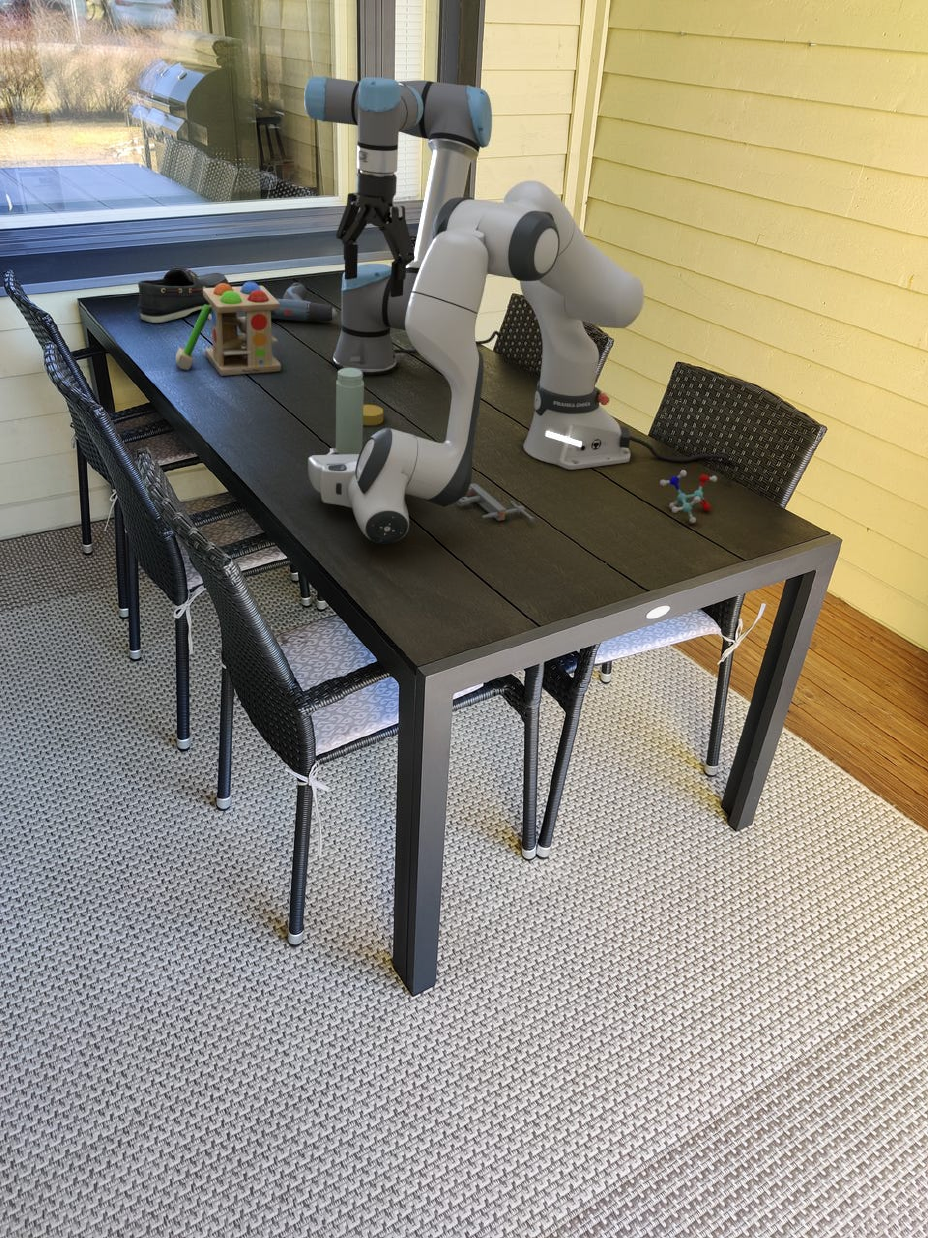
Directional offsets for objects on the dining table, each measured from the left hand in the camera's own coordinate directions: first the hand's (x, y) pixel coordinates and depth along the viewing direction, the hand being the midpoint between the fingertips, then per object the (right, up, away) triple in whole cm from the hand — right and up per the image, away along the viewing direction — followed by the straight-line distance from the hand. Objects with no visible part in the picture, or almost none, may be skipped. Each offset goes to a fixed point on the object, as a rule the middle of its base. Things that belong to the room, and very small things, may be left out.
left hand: (373, 287), depth 196 cm
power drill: (-25, +17, +71) cm, 78 cm away
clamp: (+23, -46, -15) cm, 54 cm away
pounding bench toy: (-38, -7, +35) cm, 52 cm away
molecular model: (+60, -46, -8) cm, 76 cm away
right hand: (-2, -35, -13) cm, 37 cm away
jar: (-5, -34, 0) cm, 34 cm away
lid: (-2, -22, +14) cm, 26 cm away
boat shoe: (-56, +17, +67) cm, 89 cm away
